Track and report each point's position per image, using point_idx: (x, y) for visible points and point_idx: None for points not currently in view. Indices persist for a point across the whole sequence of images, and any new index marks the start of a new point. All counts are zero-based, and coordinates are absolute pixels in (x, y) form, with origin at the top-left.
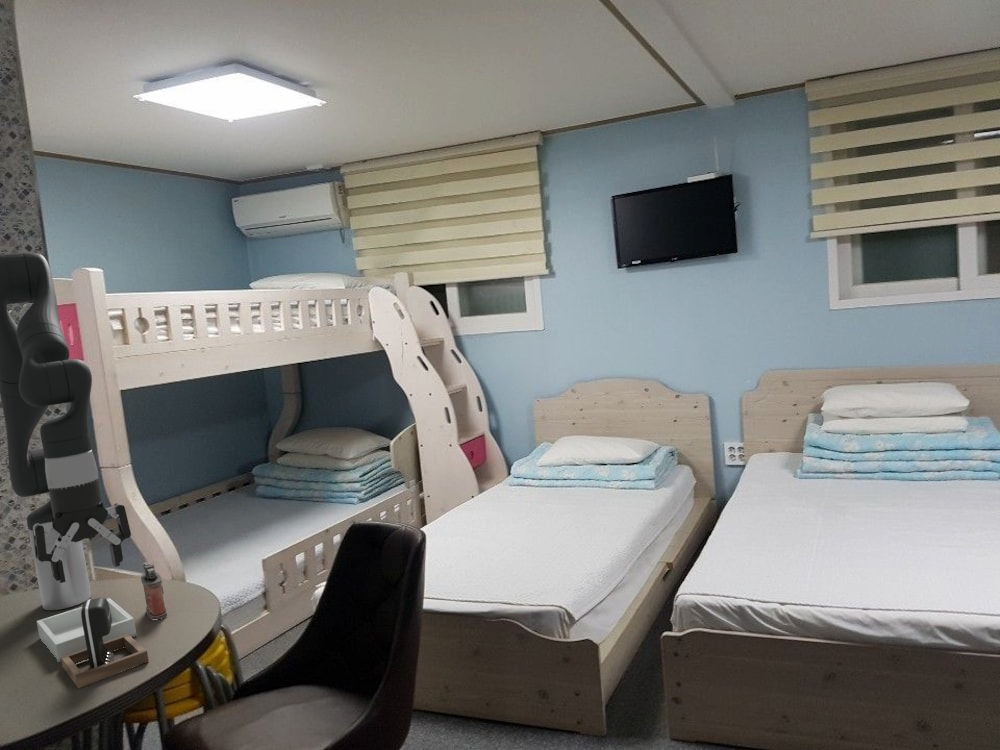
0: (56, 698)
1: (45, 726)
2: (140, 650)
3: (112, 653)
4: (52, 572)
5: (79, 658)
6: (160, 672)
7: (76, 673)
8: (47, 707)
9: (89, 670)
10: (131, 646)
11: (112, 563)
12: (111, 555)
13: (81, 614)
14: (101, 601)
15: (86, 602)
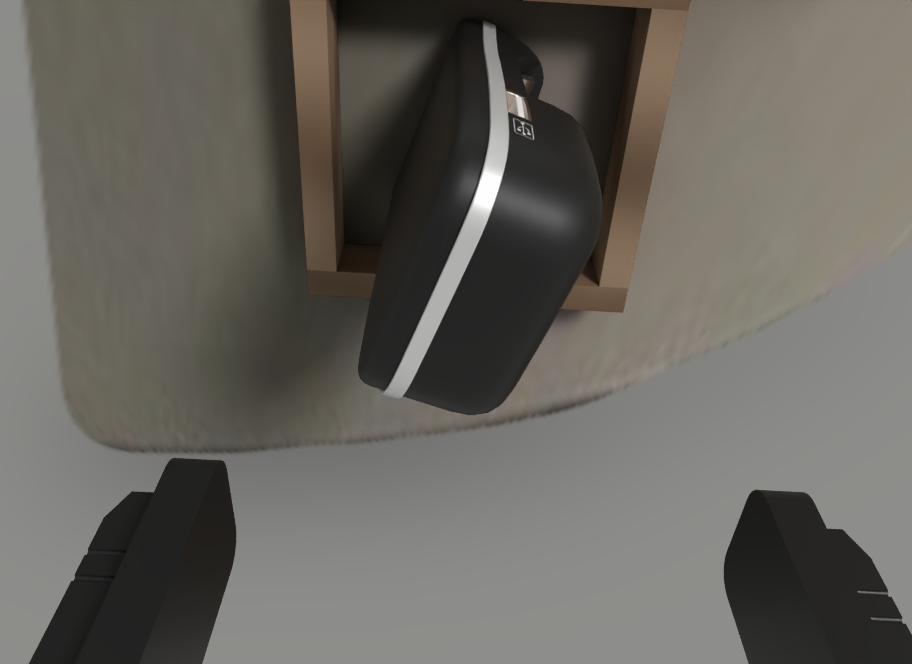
0: (228, 272)
1: (176, 436)
2: (609, 280)
3: (540, 78)
4: (85, 577)
5: None
6: (592, 400)
7: (315, 260)
8: (191, 316)
9: (368, 281)
10: (620, 156)
11: (759, 495)
12: (791, 589)
13: (360, 373)
14: (523, 342)
15: (435, 272)
